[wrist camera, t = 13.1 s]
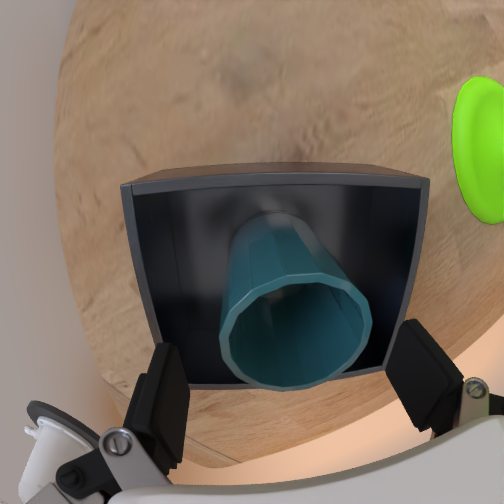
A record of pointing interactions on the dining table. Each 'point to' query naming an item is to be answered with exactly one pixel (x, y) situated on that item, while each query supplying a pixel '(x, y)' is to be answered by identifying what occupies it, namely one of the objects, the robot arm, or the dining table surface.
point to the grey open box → (249, 207)
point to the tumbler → (289, 307)
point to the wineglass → (480, 147)
